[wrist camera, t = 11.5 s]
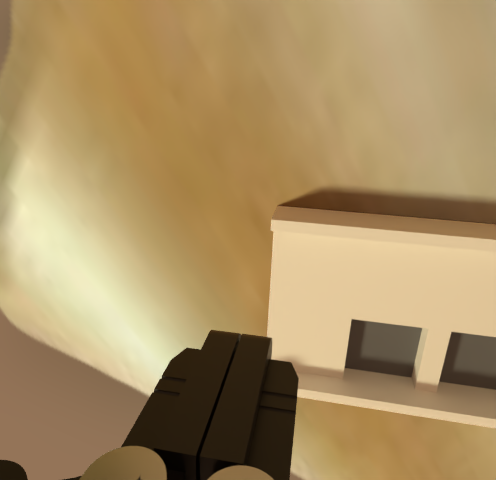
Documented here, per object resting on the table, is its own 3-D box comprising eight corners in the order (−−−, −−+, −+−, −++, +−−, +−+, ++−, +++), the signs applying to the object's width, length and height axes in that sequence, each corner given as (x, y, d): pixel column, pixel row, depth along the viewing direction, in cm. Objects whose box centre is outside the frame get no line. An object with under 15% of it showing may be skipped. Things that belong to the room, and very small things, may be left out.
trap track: (277, 205, 38) (271, 219, 34) (664, 238, 33) (712, 259, 29) (267, 363, 45) (260, 391, 40) (590, 410, 40) (621, 448, 35)
